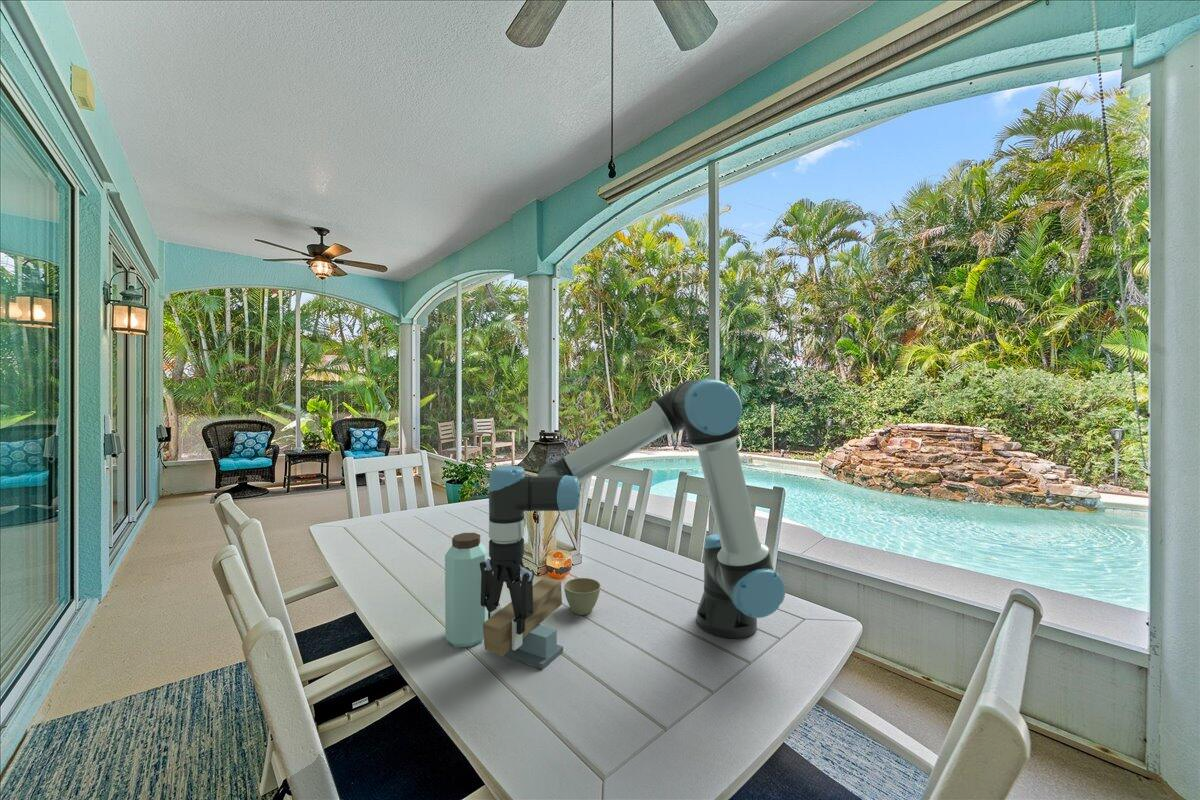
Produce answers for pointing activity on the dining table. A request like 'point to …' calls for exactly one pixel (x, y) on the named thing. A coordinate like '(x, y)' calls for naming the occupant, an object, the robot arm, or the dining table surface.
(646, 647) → the dining table surface
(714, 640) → the dining table surface
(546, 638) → the ridge
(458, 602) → the water bottle
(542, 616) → the walnut bar
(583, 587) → the flower pot
